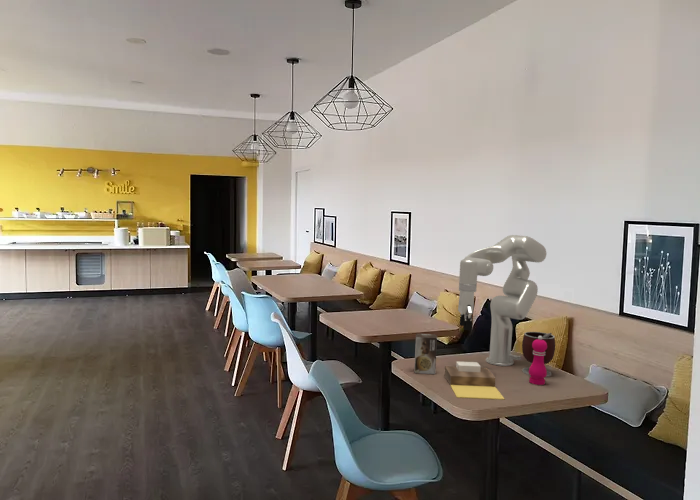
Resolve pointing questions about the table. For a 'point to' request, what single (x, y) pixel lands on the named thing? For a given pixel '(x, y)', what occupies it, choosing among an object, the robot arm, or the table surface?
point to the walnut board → (469, 377)
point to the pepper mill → (538, 362)
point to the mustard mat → (476, 392)
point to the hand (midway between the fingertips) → (465, 327)
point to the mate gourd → (528, 349)
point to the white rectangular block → (468, 366)
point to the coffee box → (425, 353)
